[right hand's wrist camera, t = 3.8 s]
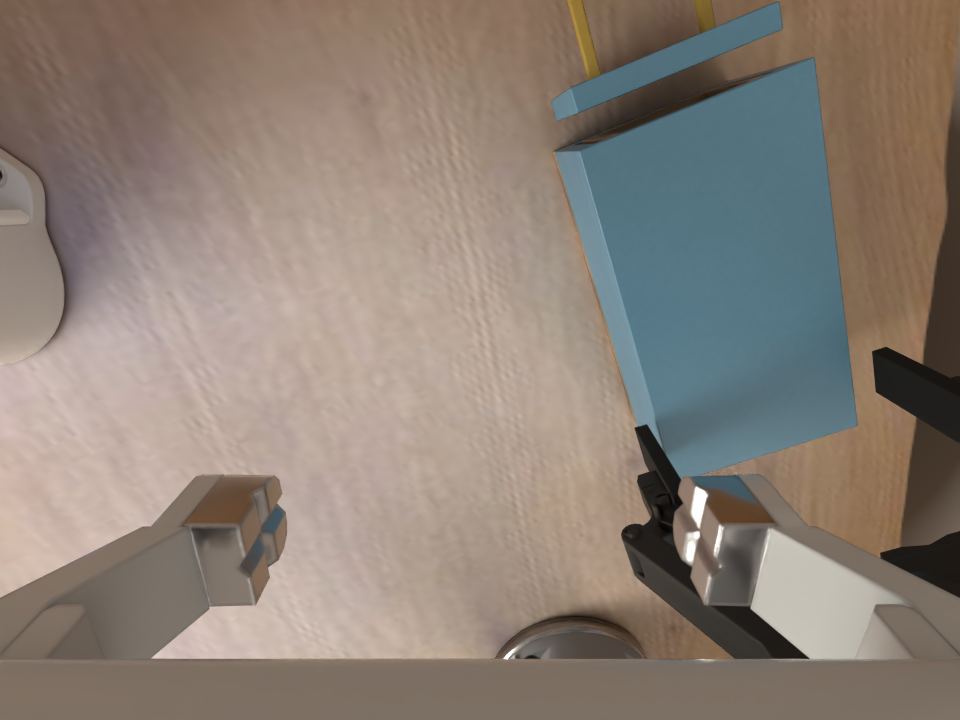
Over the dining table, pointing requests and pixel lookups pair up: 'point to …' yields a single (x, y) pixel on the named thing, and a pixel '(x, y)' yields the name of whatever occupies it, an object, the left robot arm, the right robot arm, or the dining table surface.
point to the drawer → (660, 62)
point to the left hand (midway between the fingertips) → (759, 407)
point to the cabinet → (720, 270)
